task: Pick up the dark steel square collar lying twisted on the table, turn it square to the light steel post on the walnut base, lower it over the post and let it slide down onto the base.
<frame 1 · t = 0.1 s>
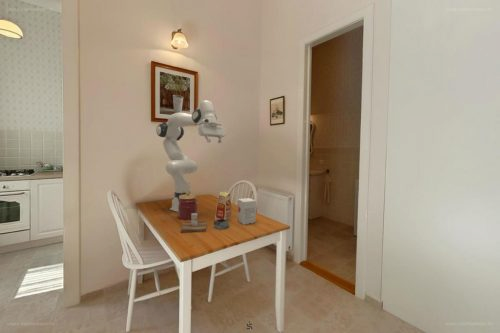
hand: (214, 142, 144), 52 cm above the table, tool tilted 20°, fingers open, 8 cm apart
collar: (221, 227, 133), on the table
canister: (187, 217, 153), on the table
post base: (194, 227, 132), on the table
supplement box: (246, 222, 144), on the table
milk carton: (224, 218, 152), on the table
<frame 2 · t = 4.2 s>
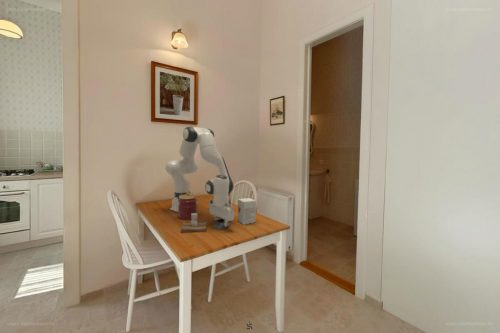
hand: (221, 224, 133), 2 cm above the table, tool pointing down, fingers closed on collar, 6 cm apart
collar: (221, 227, 133), on the table, touching gripper
everything else where it was.
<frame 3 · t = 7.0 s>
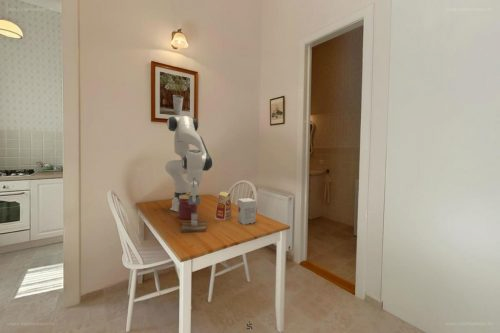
hand: (194, 200, 130), 17 cm above the table, tool pointing down, fingers closed on collar, 6 cm apart
collar: (194, 203, 131), point 15 cm above the table, touching gripper
everything else where it was.
when the fingers open (8 cm above the table, at t = 9.8 s): collar drops 4 cm, resting on post base.
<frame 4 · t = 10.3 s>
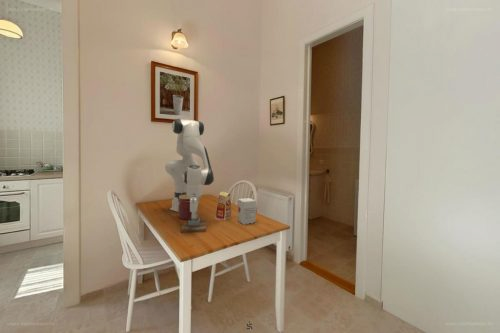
hand: (194, 215, 131), 8 cm above the table, tool pointing down, fingers open, 8 cm apart
collar: (194, 225, 132), point 1 cm above the table, touching post base
everything else where it was.
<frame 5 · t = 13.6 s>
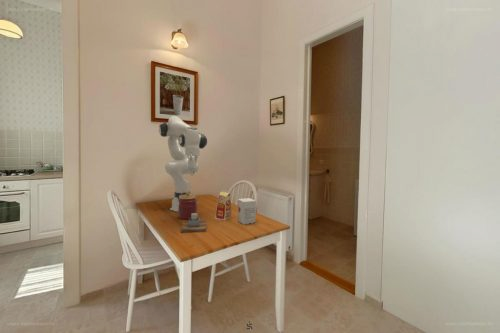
hand: (192, 174, 140), 31 cm above the table, tool pointing down, fingers open, 8 cm apart
nothing on the table moved.
at the end: collar 0.1 cm off-centre on the post base, point 1.5 cm above the post base's base; collar tilted 0°; the gripper is holding nothing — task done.
